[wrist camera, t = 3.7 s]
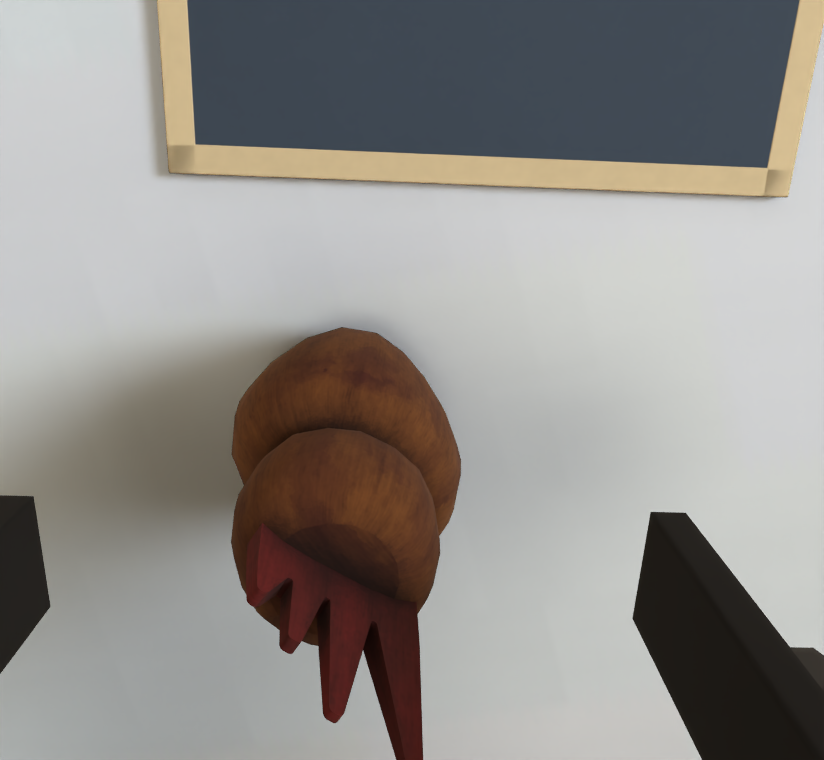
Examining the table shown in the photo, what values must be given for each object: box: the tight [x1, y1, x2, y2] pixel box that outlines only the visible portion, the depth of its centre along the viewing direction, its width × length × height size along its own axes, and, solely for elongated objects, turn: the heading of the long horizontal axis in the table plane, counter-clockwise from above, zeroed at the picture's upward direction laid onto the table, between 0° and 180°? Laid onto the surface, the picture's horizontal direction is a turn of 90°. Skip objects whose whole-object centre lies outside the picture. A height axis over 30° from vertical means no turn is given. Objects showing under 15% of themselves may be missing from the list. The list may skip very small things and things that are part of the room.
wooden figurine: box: [231, 327, 461, 760], centre depth 18 cm, size 7×6×15 cm
